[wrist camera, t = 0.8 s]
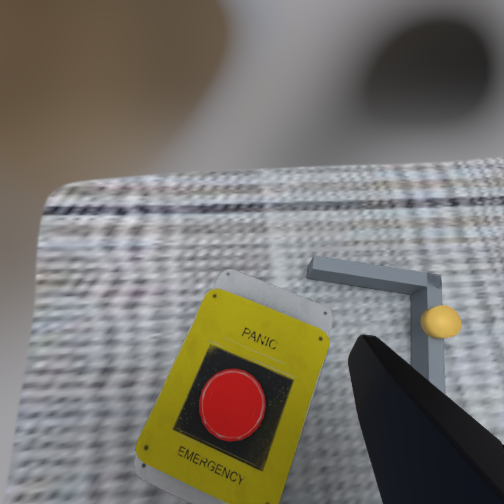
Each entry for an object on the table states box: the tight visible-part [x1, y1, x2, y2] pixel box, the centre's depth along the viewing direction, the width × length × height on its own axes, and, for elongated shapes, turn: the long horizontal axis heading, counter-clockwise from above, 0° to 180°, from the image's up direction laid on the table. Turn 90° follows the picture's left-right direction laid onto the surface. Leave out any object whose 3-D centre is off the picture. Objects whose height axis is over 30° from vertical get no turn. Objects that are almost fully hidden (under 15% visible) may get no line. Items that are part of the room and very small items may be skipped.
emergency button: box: [134, 269, 333, 504], centre depth 22 cm, size 9×4×15 cm
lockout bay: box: [307, 256, 461, 395], centre depth 21 cm, size 19×10×4 cm, turn 171°
